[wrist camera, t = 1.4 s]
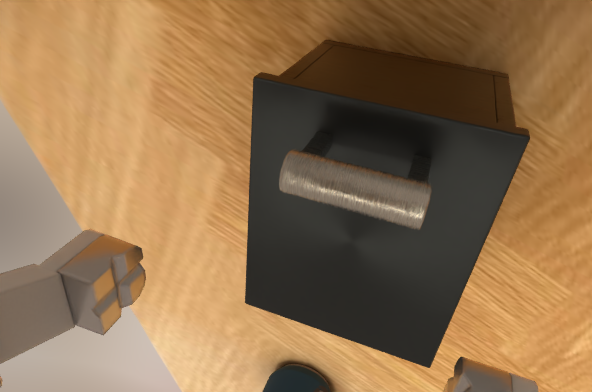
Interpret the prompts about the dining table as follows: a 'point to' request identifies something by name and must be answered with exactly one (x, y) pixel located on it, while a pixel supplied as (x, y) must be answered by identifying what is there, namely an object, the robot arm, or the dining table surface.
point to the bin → (408, 80)
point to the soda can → (296, 380)
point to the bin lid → (369, 211)
